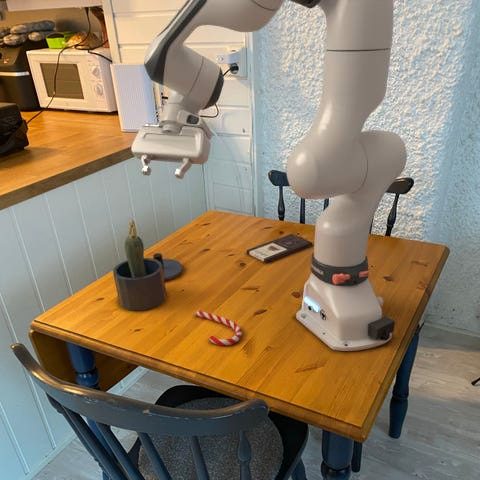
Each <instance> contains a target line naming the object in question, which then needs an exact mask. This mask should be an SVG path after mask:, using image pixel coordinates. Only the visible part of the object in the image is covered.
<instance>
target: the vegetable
mask: <svg viewBox="0 0 480 480" xmlns="http://www.w3.org/2000/svg"><path fill="white" fill-rule="evenodd" d="M129 220H130V221H129V224H128V225H129V228H128V236H127V237H126V238H125V241H124V252H125V257H126V261H128V264H129V267H130V271H131V274H132V278H139V277H145V276H147V274H146V271H145V266H144V258H145V253H144V251H145V249H144V241H143V239H142V238H141V237H140V236H138V235H137V234H138V231H137V227H136V223H135V221H134V218H132V217H129Z"/></svg>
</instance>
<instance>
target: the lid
mask: <svg viewBox="0 0 480 480" xmlns="http://www.w3.org/2000/svg"><path fill="white" fill-rule="evenodd" d="M152 256H153V257H152V259H156V260H158V261H159V262H161V264H162V267H163V274H164V281H167V280H171V279H174V278H176V277H177V276H179V275H180V274H181V273H182V272H183V268H184V267H183V264H182V263H181V262H180V261H178V260H176V259H172V258H163V254H162V253H160V252H158V253H154V254H152Z"/></svg>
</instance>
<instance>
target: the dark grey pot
mask: <svg viewBox="0 0 480 480" xmlns="http://www.w3.org/2000/svg"><path fill="white" fill-rule="evenodd" d="M144 266H145V271H146V274H147V276H145V277H139V278H132V274H131V271H130V267H129V264H128V261H127V260H124V261H121V262H119V263H118V264H116V265H115V266H114V268H113V269H112V274H113V280H114V284H115V289H116V294H117V295H116V296H117V300H118V304H119V305H120V307H121V308H123V309H125V310H127V311H132V312H142V311H148V310H152V309H155V308H157V307H160V306H161V305H163V303H164V302H166V299H167V289H166V280H164V274H163V267H162V264H161V262H159V261H158V260H156V259H153V258H151V257H144Z"/></svg>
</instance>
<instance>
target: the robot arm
mask: <svg viewBox="0 0 480 480" xmlns="http://www.w3.org/2000/svg"><path fill="white" fill-rule="evenodd" d="M285 1H286V0H186V1H185V3H183V5H182V7H180V9H179V10H178V11H177V12H176V14H175V15H174V16H173V18H172V19H171V20H170V22H169V23H168V24H167V25H166V26H165V28H164V29H163V30H162V31H161V32H160V33H159V34H157V36H156V37H155V38H154V39H153V40H152V42H150V44H149V46H148V47H147V49H146V52H145V56H144V61H143V67H144V68H145V71H146V74H147V75H148V77H149V79H150V81H152V82H154V83H156V84H159V85H161V86H164V87H166V88H168V89H169V90H168V93H167V101H166V102H165V104H164V105H163V108H162V111H161V115H160V117H159V120H158V121H159V122H158V123H145V124H144V125H143V126H141V127H140V128H139V130H138V132H137V133H136V136H135V138H134V140H133V142H132V144H131V147H130V150H131V153H132V154H133V156H134V157H135V158H136V159H138V160H141V164H142V168H141V174H142V175H143V176H150V175H151V173H152V169H151V167H150V166H149V164H151V162H152V161H155V162H168V163H178V164H179V163H180V164H181V163H182V165H181V166H180V167H179V168H176V169H175V173H174V176H175V177H176V179H181V180H183V179H184V177H185V174H186V173H187V172H188V171H189V170H190V169H191V168H192V165H204V164H206V163H207V161H208V160H209V156H210V152H211V147H212V145H211V144H212V143H211V141H210V140H211V139H212V138H213V133H212V131H211V128H210V127H209V125H208V123H207V122H206V120H204V118H203V117H201V116H199V113H200V111H201V110H202V111H204V110H207V109H210V108H212V107H213V106H215V105H217V103H218V101H219V99H220V96H221V94H222V90H223V87H224V84H225V77H224V72H223V69H222V68H221V67H220V66H219V65H218V64H217V63H215V62H213V61H212V60H210V59H209V58H207V57H206V56H204V55H201V54H200V53H198V52H197V51H195V50H193V49H192V48H190V47H189V46H187V45H185V44H184V43H185V42H186V41H187V39H188V38H189V37H190V36H191V35H192V33H194V31H195V30H196V29H197V28H199V27H202V26H214V27H219V28H224V29H228V30H231V31H234V32H238V33H253V32H254V33H255V32H258V31H259V30H262V29H263V28H265V27H266V26H267V25H268V24H269V23H270V22H271V21H272V19H274V17H275V16H276V15H277V13H278V12H279V11H280V9H281V8H282V7H283V5H284V3H286V2H285ZM288 1H289V2H292V3H295V4H298V5H300V6H302V7H304V8H307V9H314V8H315V7H316V6H318V7H319V8H320V9H321V10H322V12H323V14H324V16H325V23H326V35H325V46H324V49H325V50H324V62H323V63H324V64H323V75H322V77H323V78H322V86H321V95H320V100H319V104H318V108H317V111H316V113H315V117H314V119H313V121H312V123H311V126H310V127H309V129H308V131H307V133H306V134H305V136H304V138H303V139H302V140H301V141H300V142H299V144H298V145H297V146H296V147H294V148H293V150H291V153H290V155H289V156H288V160H287V163H286V179H287V182H288V185H289V187H290V189H291V190H292V191H293V193H294V194H295V195H296V196H297V197H299V198H300V199H303V200H328V199H332V200H331V201H330V203H329V204H328V206H327V207H326V208H325V209H324V210H323V211H322V212H321V213H320V214H319V215H318V217H317V219H316V221H315V225H314V226H315V227H314V241H313V242H314V243H313V252H312V254H311V259H310V272H311V273H310V276H308V279H307V280H306V282H305V283H304V287H303V294H302V302H301V308H300V309H299V310H298V311H297V312H296V314H295V319H296V320H297V321H299V323H301V324H302V325H303V326H304V327H305V328H306V329H308V330H309V331H310V332H311V333H312V334H313V335H314V336H316V337H317V338H318V339H319V340H321V341H322V342H323V343H324V344H325V345H326V346H327V347H329V348H330V349H332V350H333V351H339V352H356V351H362V350H368V349H372V348H376V347H379V346H382V345H384V344H386V343H388V342H389V341H390V340H392V336H393V334H392V333H393V332H394V329H395V325H396V320H395V319H392V318H390V317H389V316H387V315H385V316H383V309H382V308H383V306H384V299H383V297H382V296H377V295H376V292H375V289H374V288H375V285H374V284H373V283H371V281H370V279H369V277H370V276H371V274H370V273H371V270H370V269H369V267H370V266H369V261H368V255H367V253H368V252H367V251H368V244H369V238H370V231H371V226H372V222H373V220H374V217H375V215H376V212H377V209H378V208H379V205H380V204H381V201H382V199H383V198H384V196H385V195H386V193H387V191H388V189H389V188H390V187H391V186H392V185H393V183H394V182H395V181H396V180H397V179H398V178H399V177H400V176H401V175H402V174H403V172H404V170H405V168H406V165H407V162H408V161H407V160H408V151H407V146H406V144H405V141H404V140H403V138H402V137H401V135H399V134H397V133H396V132H394V131H389V130H388V131H387V130H381V129H370V130H363V128H364V127H365V124H366V122H367V120H368V119H369V118H370V116H371V114H372V113H373V112H374V111H376V110H377V108H379V106H380V105H381V104H382V103H383V101H384V100H385V98H386V94H387V87H388V80H389V70H390V62H391V54H392V46H393V37H394V36H393V35H394V17H395V16H394V13H395V12H394V0H288Z"/></svg>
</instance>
